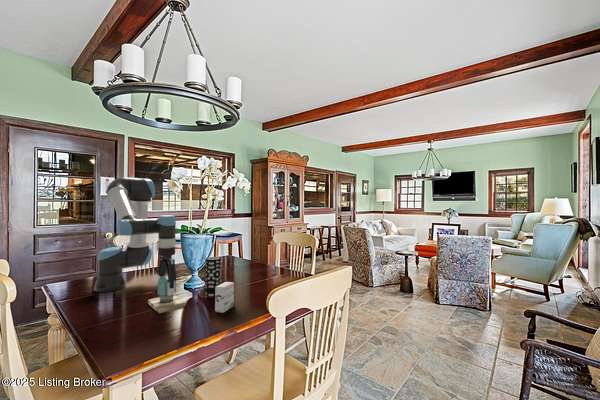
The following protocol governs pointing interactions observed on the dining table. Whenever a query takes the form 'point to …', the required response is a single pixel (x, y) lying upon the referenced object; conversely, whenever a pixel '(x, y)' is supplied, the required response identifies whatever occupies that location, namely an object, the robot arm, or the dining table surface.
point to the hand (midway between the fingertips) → (166, 292)
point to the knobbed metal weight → (166, 298)
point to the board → (166, 304)
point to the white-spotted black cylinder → (212, 275)
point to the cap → (164, 286)
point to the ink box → (224, 297)
